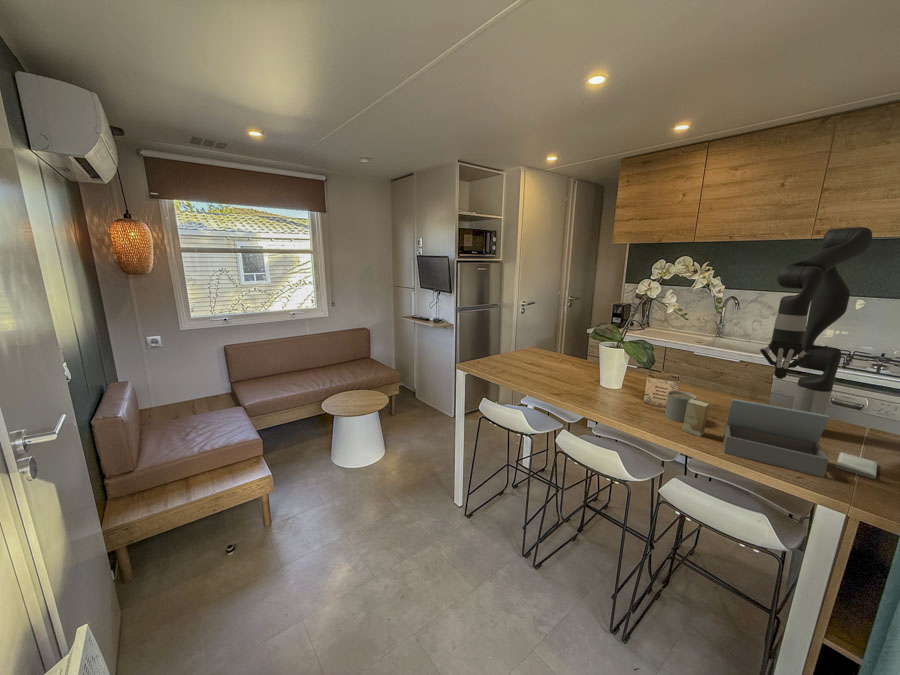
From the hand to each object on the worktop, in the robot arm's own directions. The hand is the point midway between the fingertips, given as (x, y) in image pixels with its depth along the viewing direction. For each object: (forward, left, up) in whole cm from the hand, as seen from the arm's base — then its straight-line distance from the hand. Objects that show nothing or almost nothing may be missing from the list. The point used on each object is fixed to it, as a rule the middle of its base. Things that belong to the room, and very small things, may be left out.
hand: (779, 378), depth 120 cm
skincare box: (+3, -21, -25) cm, 33 cm away
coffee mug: (-11, -26, -25) cm, 38 cm away
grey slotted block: (+9, 0, -25) cm, 27 cm away
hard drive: (0, +22, -26) cm, 34 cm away
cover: (+6, 0, -14) cm, 15 cm away
